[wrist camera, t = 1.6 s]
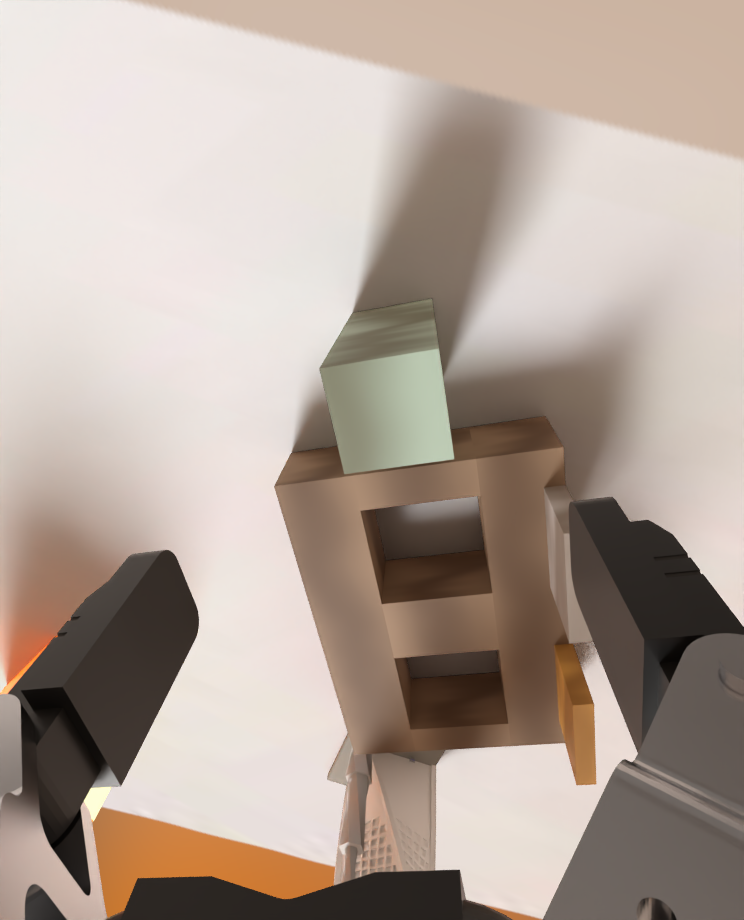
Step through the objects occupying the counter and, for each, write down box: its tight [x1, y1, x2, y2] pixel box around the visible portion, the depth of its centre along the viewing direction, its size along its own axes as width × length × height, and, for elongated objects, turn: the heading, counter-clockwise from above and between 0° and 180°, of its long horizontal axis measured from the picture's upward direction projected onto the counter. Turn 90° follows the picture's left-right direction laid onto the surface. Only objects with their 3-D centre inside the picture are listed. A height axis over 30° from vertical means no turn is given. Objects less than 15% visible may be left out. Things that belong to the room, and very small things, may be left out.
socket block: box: [274, 416, 596, 785], centre depth 30 cm, size 14×20×8 cm
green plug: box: [319, 299, 454, 474], centre depth 23 cm, size 4×4×10 cm
